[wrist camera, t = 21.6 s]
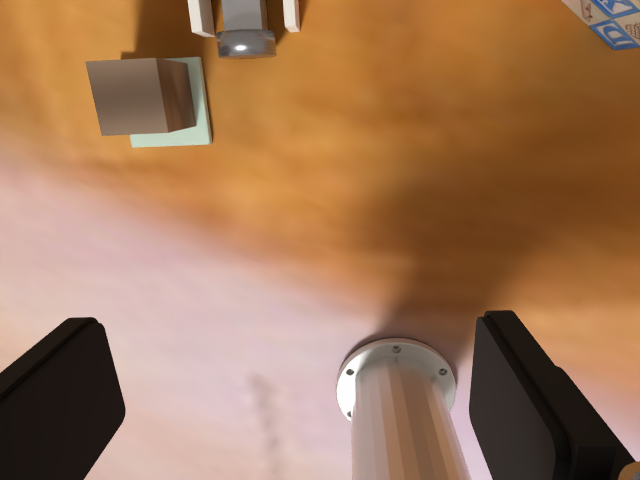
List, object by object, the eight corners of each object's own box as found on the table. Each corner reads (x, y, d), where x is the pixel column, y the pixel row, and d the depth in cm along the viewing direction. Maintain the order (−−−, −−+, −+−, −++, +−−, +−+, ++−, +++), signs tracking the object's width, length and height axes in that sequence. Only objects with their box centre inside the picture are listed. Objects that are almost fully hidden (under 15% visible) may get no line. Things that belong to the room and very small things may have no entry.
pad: (212, 143, 36) (209, 144, 36) (136, 146, 37) (132, 147, 36) (201, 57, 34) (197, 56, 33) (120, 62, 35) (115, 61, 34)
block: (196, 126, 35) (168, 132, 30) (140, 128, 36) (101, 135, 30) (187, 63, 34) (155, 57, 28) (128, 66, 34) (85, 61, 28)
